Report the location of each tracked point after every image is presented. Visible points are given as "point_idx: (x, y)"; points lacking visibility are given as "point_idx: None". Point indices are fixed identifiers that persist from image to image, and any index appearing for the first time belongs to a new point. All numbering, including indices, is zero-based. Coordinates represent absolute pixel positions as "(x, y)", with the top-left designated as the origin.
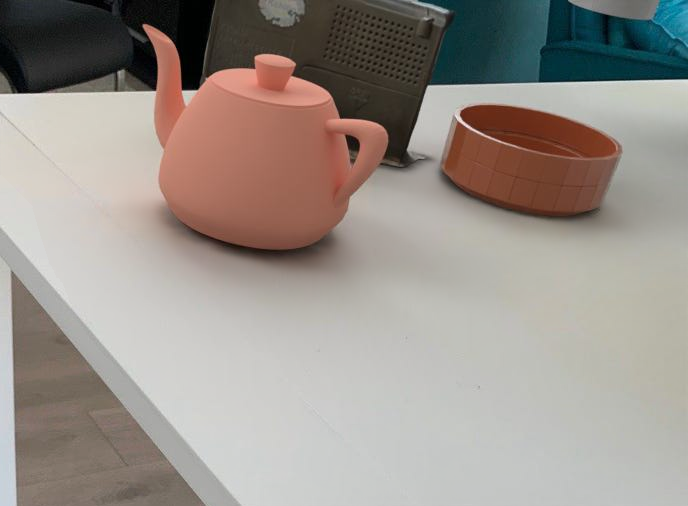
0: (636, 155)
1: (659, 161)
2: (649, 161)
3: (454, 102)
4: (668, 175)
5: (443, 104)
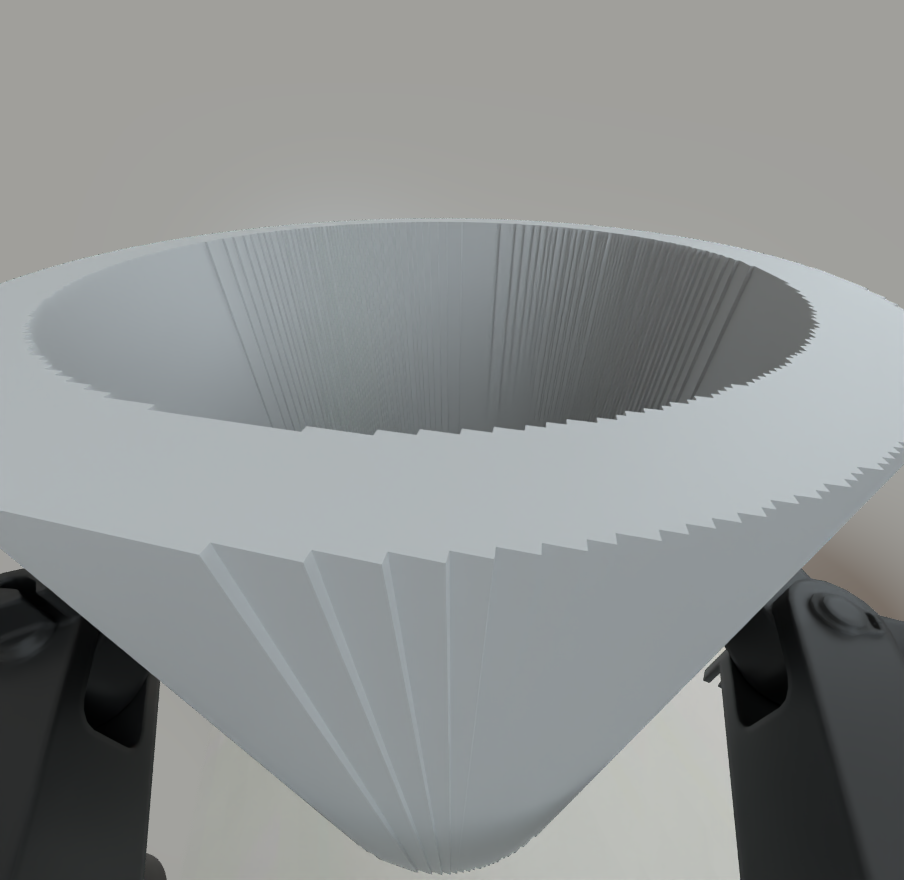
0: (286, 852)
1: (227, 871)
2: (256, 829)
3: (722, 786)
4: (224, 746)
5: (703, 730)
